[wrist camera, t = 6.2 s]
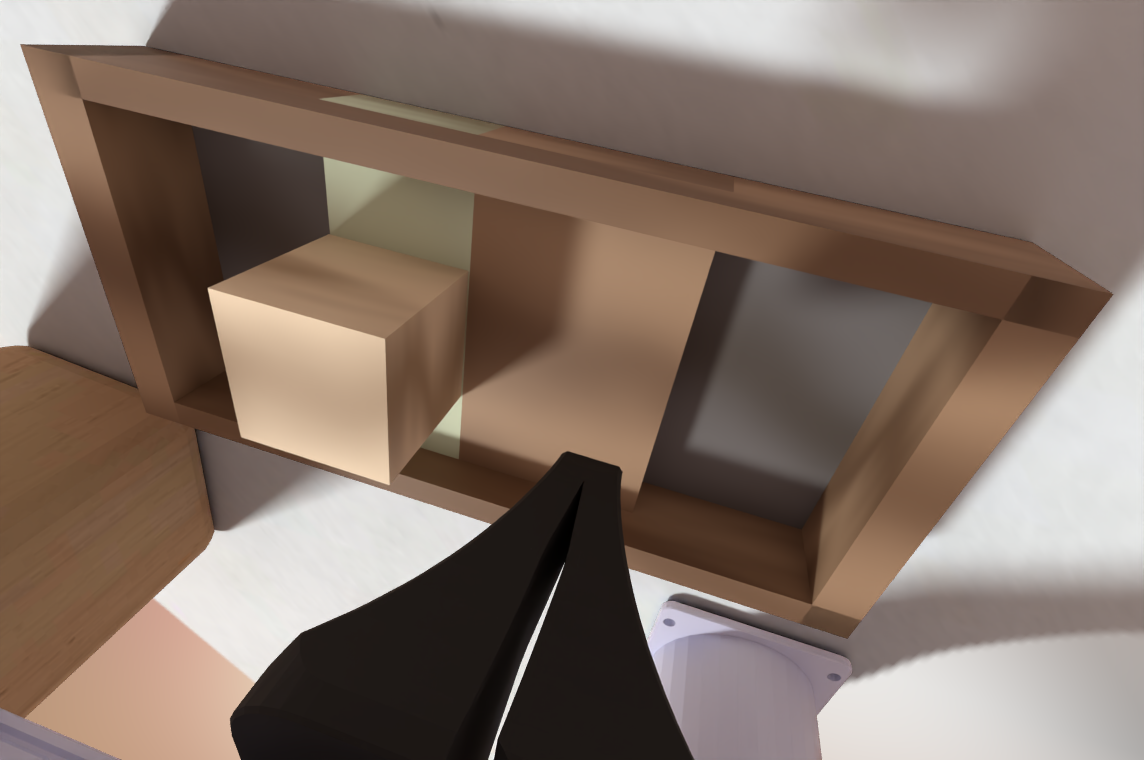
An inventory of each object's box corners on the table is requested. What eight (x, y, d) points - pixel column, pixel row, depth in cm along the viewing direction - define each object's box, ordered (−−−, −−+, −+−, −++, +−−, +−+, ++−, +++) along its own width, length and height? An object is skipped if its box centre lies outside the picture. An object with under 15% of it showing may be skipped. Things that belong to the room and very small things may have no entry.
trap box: (831, 554, 20) (847, 638, 17) (219, 368, 23) (146, 412, 20) (1032, 242, 14) (1113, 294, 11) (143, 46, 17) (20, 44, 14)
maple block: (460, 396, 18) (389, 485, 14) (339, 360, 19) (241, 437, 15) (468, 271, 16) (385, 338, 12) (328, 234, 16) (207, 288, 12)
